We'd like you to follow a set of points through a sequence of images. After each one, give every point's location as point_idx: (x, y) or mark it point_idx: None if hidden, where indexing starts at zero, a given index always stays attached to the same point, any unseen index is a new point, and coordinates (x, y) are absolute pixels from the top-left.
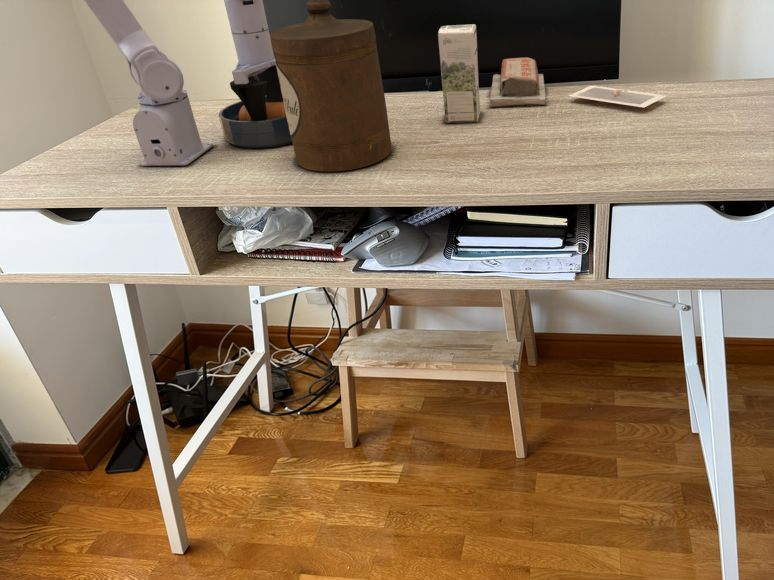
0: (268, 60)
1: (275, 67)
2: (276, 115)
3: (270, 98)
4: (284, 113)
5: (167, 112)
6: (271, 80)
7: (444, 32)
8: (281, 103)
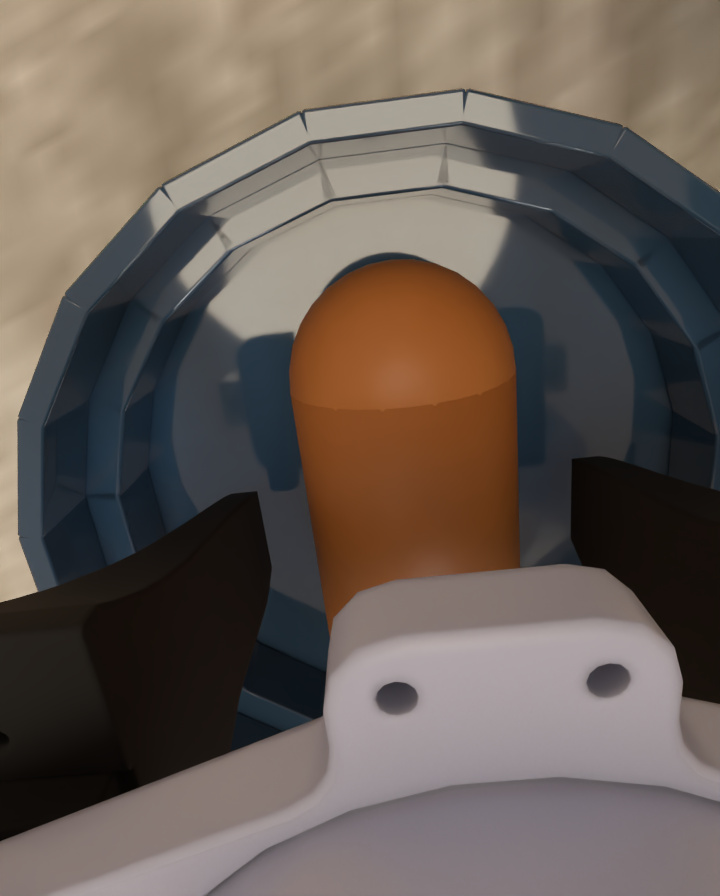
0: (714, 827)
1: (96, 762)
2: (515, 424)
3: (251, 621)
4: (511, 356)
5: None
6: (194, 699)
7: None
8: (432, 433)
